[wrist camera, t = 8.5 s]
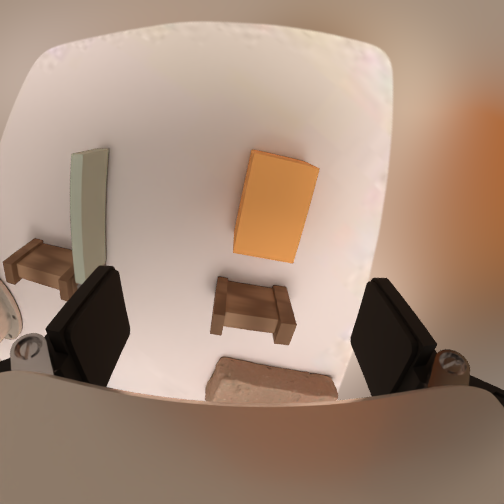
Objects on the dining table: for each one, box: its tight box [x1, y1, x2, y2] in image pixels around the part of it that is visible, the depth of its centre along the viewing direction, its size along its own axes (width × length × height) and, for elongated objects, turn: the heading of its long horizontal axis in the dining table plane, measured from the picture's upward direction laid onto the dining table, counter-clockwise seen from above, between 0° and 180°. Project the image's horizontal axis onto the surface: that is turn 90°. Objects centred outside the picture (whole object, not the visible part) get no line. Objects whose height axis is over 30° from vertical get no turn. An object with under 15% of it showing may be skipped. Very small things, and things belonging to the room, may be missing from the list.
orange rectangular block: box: [233, 149, 319, 263], centre depth 24 cm, size 5×8×5 cm, turn 168°
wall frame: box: [3, 238, 297, 345], centre depth 26 cm, size 30×2×6 cm, turn 78°
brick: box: [205, 357, 338, 404], centre depth 35 cm, size 16×8×5 cm, turn 70°
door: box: [70, 148, 109, 289], centre depth 23 cm, size 13×2×5 cm, turn 169°
